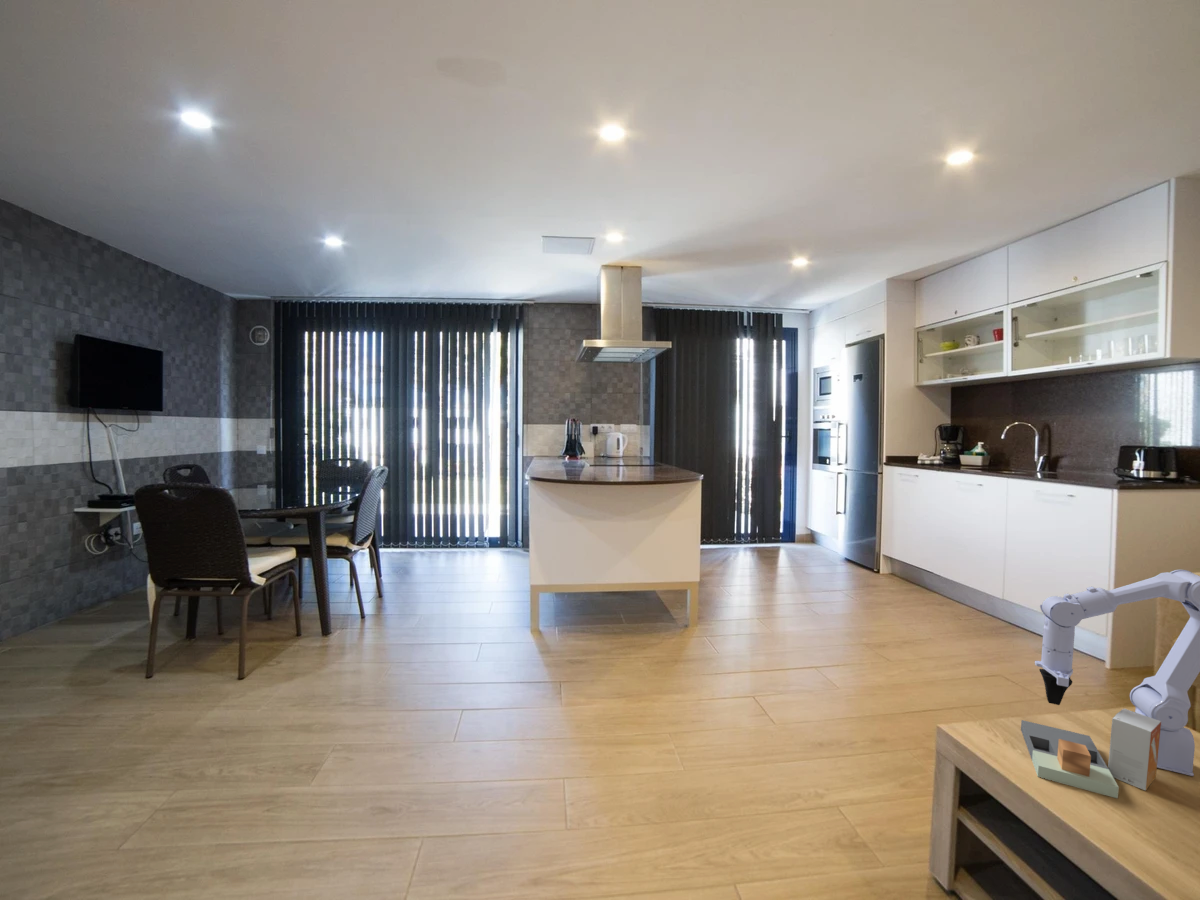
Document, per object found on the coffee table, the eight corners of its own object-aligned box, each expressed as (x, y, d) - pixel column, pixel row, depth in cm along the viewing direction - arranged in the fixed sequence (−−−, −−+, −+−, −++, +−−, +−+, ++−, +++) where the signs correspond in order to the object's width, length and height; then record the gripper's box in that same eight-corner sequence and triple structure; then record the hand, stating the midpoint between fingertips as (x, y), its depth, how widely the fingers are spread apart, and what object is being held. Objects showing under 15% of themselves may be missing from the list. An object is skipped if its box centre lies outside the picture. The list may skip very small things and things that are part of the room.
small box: (1146, 792, 114) (1151, 732, 114) (1106, 775, 120) (1111, 717, 119) (1157, 778, 119) (1162, 720, 118) (1117, 762, 124) (1122, 707, 123)
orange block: (1083, 765, 119) (1085, 745, 119) (1089, 776, 115) (1090, 756, 115) (1057, 758, 121) (1058, 738, 121) (1061, 769, 117) (1063, 749, 117)
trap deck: (1088, 746, 130) (1089, 735, 130) (1117, 798, 112) (1118, 786, 112) (1020, 729, 137) (1021, 719, 137) (1037, 776, 119) (1038, 765, 118)
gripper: (1030, 634, 139) (1027, 685, 140) (1042, 655, 127) (1038, 711, 127) (1066, 640, 136) (1062, 693, 137) (1082, 662, 123) (1077, 720, 124)
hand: (1053, 702), depth 132 cm, fingers closed
